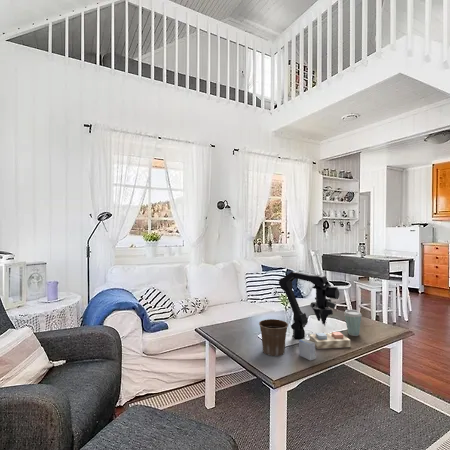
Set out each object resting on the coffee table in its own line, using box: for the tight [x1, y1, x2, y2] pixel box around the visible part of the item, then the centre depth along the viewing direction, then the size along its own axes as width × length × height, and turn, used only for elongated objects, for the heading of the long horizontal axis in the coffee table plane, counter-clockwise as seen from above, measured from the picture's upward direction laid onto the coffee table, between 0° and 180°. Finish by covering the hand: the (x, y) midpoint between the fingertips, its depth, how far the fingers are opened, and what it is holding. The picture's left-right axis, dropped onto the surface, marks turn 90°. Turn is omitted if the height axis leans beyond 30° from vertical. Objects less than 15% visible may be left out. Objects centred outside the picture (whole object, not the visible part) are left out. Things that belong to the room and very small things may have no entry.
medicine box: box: [298, 338, 316, 361], centre depth 165 cm, size 8×4×9 cm, turn 33°
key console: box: [309, 332, 351, 350], centre depth 183 cm, size 20×12×4 cm, turn 96°
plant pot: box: [258, 318, 289, 357], centre depth 173 cm, size 16×16×16 cm
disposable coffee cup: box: [343, 309, 363, 337], centre depth 198 cm, size 11×11×15 cm
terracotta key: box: [331, 331, 344, 339], centre depth 184 cm, size 5×5×3 cm
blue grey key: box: [315, 332, 327, 340], centre depth 183 cm, size 5×5×3 cm
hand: (321, 322), depth 183 cm, fingers open, 6 cm apart
